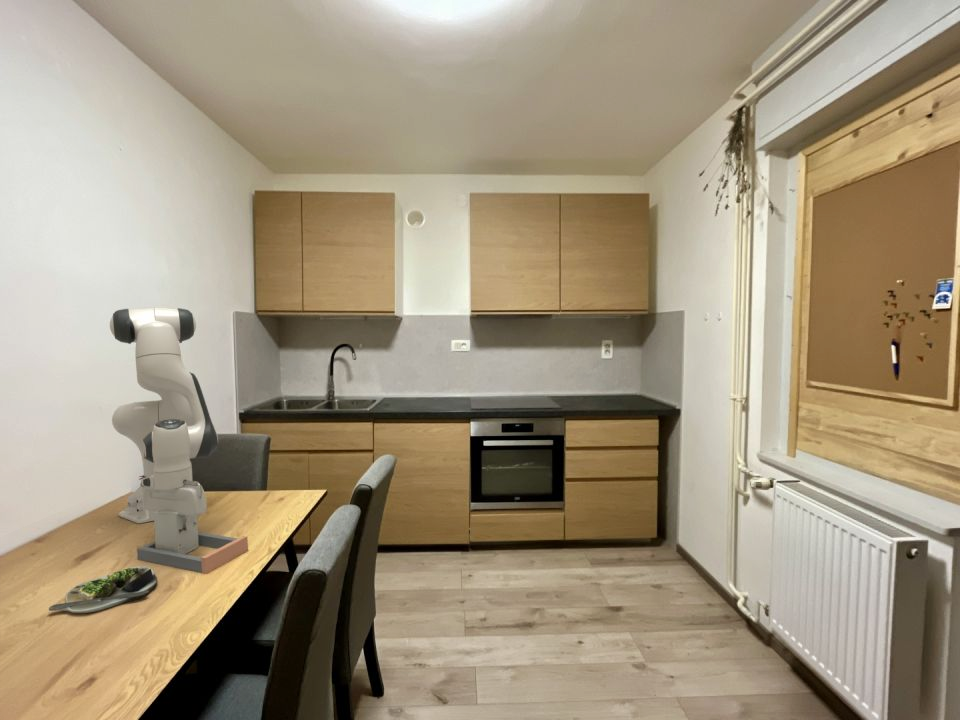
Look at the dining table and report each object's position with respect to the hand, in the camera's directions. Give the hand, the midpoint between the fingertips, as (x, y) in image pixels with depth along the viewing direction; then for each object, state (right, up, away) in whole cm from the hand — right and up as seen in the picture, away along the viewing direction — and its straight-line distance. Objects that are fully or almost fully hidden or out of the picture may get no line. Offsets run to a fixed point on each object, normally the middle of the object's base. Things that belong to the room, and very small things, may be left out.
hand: (176, 528), depth 127 cm
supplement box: (0, -7, +1) cm, 7 cm away
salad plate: (-2, -9, -19) cm, 21 cm away
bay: (+6, -7, -1) cm, 9 cm away
